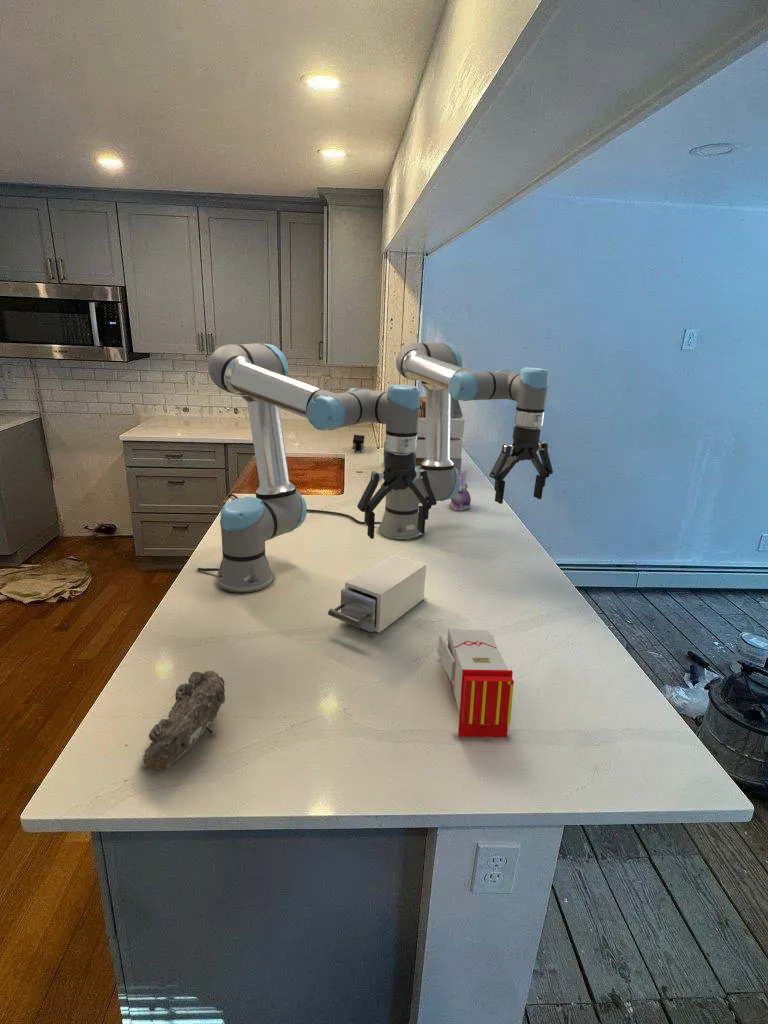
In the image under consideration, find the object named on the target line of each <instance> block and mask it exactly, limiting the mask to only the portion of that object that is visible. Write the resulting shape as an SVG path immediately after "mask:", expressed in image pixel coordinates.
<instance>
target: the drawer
mask: <svg viewBox="0 0 768 1024" xmlns="http://www.w3.org/2000/svg"><path fill="white" fill-rule="evenodd" d="M376 612H377V597H374V596H372V595H369V594H366V593H363V592H361V591H358V590H355V589H352V588H351V591H350V590H347V589H345V588H342V589H340V605H338V606H336V608H329V610H328V611H327V616H329V617H331V618H334V619H336V620H339V621H341V622H343V623H346V624H349V625H352V626H354V627H356V628H358V629H359V628H360V629H362V630H364V631H367V632H369V633H373V632H375V631H374V628H375V624H376Z"/></svg>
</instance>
